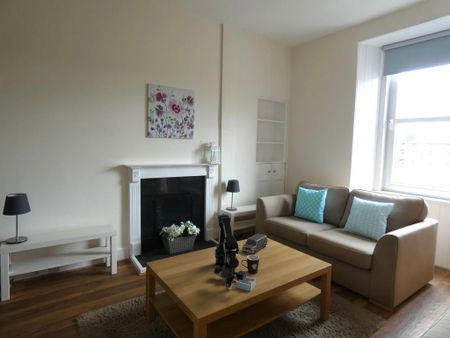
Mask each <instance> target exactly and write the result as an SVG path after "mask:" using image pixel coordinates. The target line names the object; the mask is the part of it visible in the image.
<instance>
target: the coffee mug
mask: <svg viewBox="0 0 450 338" xmlns="http://www.w3.org/2000/svg"><path fill="white" fill-rule="evenodd" d="M244 261H245V262H246V264H247V266H246V265H244V263H243V262H244ZM240 263H241V265H242V266H243V267H244V268H246V269H247V273H249V274H251V275H256V274H257V273H258V271H259V270H258V269H259V266H260V265H259V264H260V256H259V255H256V254H254V255H253V254H248V255H247V256H246V259H242V260H241V262H240Z"/></svg>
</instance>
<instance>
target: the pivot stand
mask: <svg viewBox="0 0 450 338" xmlns="http://www.w3.org/2000/svg"><path fill="white" fill-rule="evenodd" d="M221 284H223V285H228V283H227V280H226V278H222V281H221Z"/></svg>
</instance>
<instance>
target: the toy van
mask: <svg viewBox="0 0 450 338" xmlns="http://www.w3.org/2000/svg"><path fill="white" fill-rule="evenodd" d="M267 245H269V243H268V237H267V235H265V234H262V233H261V234H260V233H256V234H254V235H252V236H250V237H248V238H247V240H246V241H245V243H244V244H243V245H242V247H241V248H242V252H244V253H246V252H247V253H249V254H251V255H256V254H257V252H258V251H260V250H262V249H265V248H267V247H266V246H267Z"/></svg>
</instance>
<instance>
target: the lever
mask: <svg viewBox="0 0 450 338" xmlns="http://www.w3.org/2000/svg"><path fill="white" fill-rule="evenodd" d="M212 273H213V275H217V276H218V277H221V273H219V274H216V273H214V270H213V271H212ZM221 278H222V277H221ZM236 281H237V282H240V280H239V279H237V278H235V279H234V280H233V282H232V285H231V287H230V286H228V284H226V286H225V289H227V290H232V288H233V287H234V286H236Z"/></svg>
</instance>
